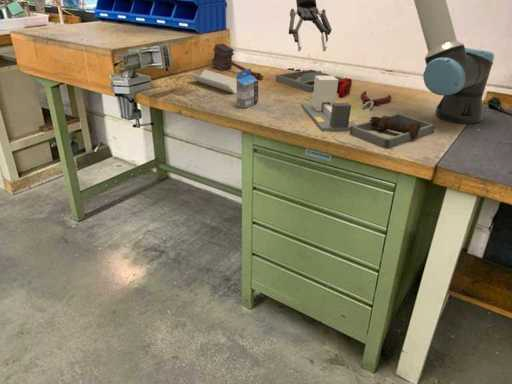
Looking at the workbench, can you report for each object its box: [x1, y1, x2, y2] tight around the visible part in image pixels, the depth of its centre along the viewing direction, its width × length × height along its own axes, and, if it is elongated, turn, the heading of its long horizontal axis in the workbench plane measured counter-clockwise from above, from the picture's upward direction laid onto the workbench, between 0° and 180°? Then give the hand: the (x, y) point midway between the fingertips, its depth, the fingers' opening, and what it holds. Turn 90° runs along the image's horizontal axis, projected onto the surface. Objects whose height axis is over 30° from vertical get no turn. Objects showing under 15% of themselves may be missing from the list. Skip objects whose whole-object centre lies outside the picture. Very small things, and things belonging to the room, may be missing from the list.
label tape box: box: [236, 68, 259, 109], centre depth 149 cm, size 9×4×12 cm, turn 148°
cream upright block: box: [311, 75, 338, 111], centre depth 145 cm, size 6×6×11 cm
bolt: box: [369, 115, 420, 141], centre depth 130 cm, size 6×5×15 cm
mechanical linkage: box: [337, 77, 353, 98], centre depth 170 cm, size 16×7×5 cm, turn 148°
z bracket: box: [188, 68, 237, 95], centre depth 173 cm, size 12×25×6 cm
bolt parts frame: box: [349, 112, 436, 149], centre depth 130 cm, size 14×24×2 cm, turn 128°
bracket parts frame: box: [275, 69, 344, 93], centre depth 183 cm, size 22×22×2 cm
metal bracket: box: [295, 70, 325, 84], centre depth 183 cm, size 14×6×15 cm
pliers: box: [360, 90, 392, 110], centre depth 158 cm, size 12×20×3 cm, turn 155°
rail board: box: [301, 102, 357, 132], centre depth 141 cm, size 26×12×8 cm, turn 9°
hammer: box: [211, 43, 264, 81], centre depth 194 cm, size 7×33×10 cm, turn 43°
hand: (312, 49), depth 157 cm, fingers open, 9 cm apart
